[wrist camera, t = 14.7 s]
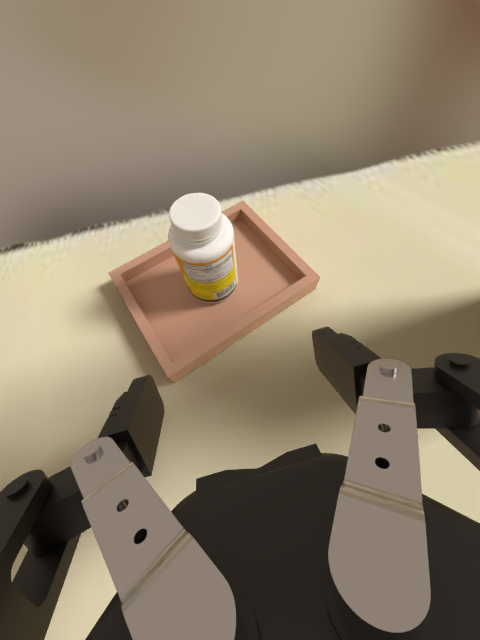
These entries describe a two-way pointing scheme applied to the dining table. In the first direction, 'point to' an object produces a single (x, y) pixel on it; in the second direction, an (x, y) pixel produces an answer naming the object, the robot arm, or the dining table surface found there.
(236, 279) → the supplement bottle
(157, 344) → the tray
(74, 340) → the dining table surface
